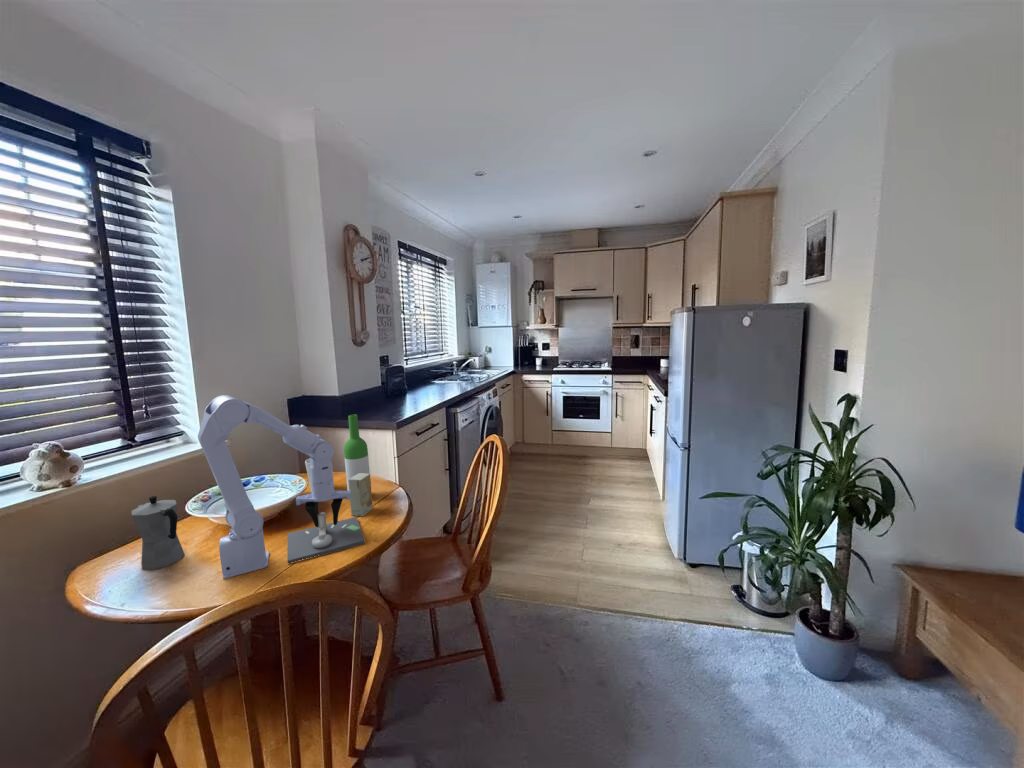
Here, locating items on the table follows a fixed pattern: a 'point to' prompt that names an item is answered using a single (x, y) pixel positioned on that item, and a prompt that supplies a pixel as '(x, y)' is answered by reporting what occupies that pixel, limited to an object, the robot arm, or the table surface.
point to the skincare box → (360, 494)
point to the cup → (309, 472)
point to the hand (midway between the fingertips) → (326, 524)
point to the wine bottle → (355, 451)
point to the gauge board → (342, 533)
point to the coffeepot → (158, 533)
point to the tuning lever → (322, 533)
